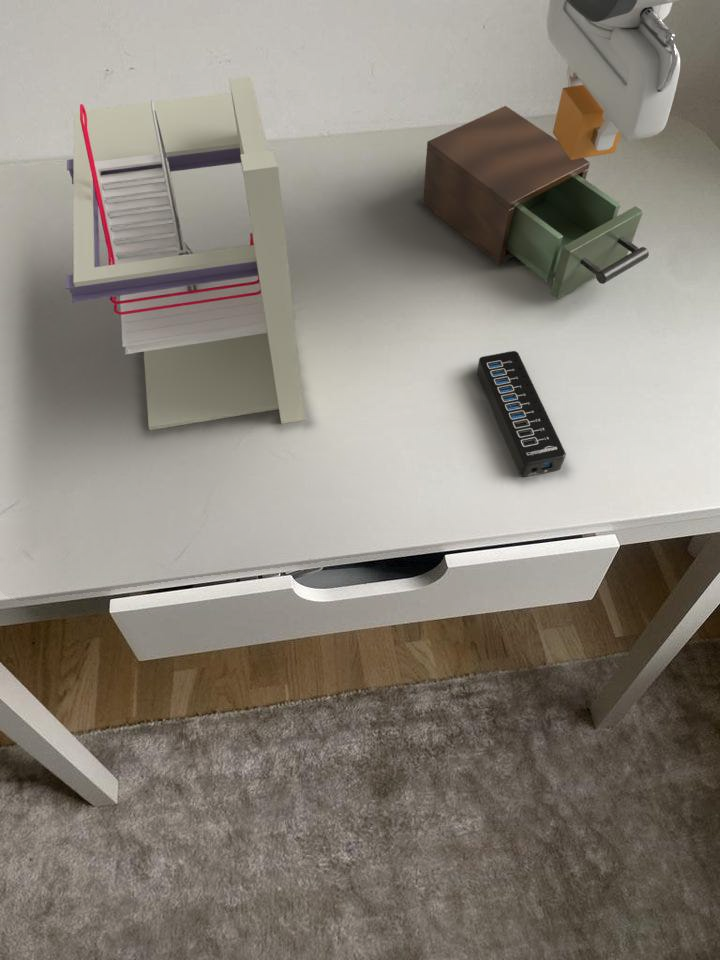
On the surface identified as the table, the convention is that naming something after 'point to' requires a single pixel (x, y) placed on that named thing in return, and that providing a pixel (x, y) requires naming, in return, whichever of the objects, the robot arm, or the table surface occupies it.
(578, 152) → the block
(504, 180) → the cabinet
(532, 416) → the multiport hub
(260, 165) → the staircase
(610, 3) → the robot arm
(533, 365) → the table surface
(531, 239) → the drawer
